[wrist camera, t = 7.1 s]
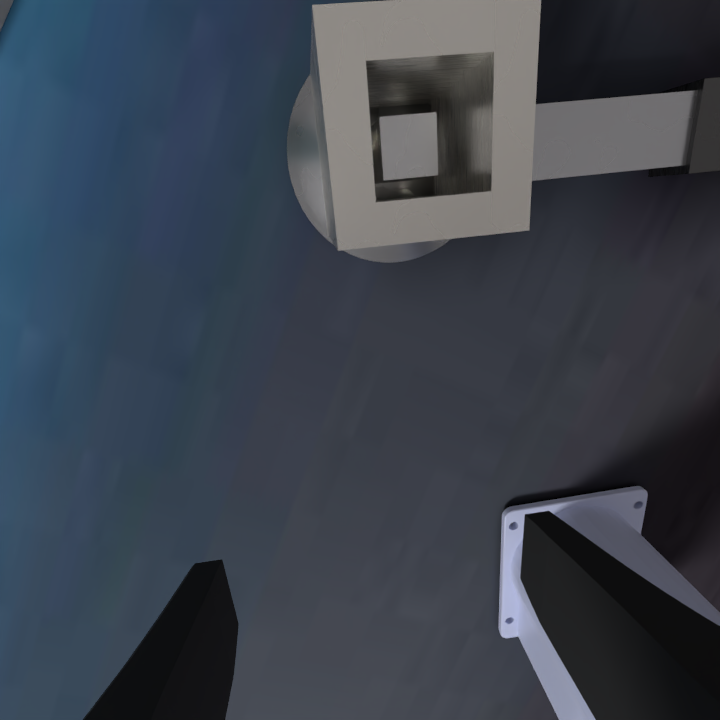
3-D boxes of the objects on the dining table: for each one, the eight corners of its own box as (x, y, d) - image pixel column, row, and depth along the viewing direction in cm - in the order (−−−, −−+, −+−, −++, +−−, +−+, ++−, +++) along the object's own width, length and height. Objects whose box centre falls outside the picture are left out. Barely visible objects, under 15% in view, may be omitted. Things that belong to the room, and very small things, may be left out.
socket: (460, 222, 15) (529, 230, 11) (328, 235, 15) (337, 250, 10) (460, 64, 13) (541, -9, 9) (310, 75, 13) (312, 5, 8)
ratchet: (768, 213, 19) (903, 215, 14) (303, 265, 17) (302, 285, 13) (814, 19, 16) (993, -46, 12) (274, 60, 14) (261, 0, 10)
